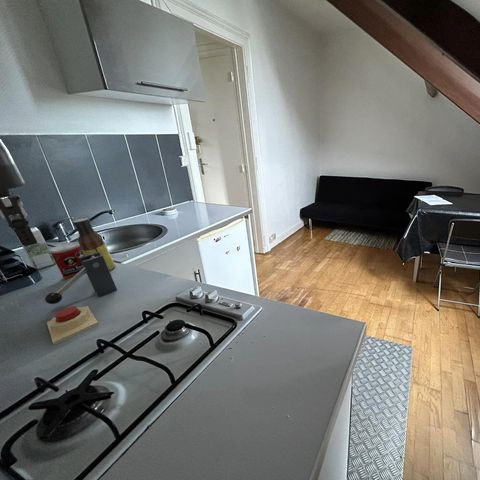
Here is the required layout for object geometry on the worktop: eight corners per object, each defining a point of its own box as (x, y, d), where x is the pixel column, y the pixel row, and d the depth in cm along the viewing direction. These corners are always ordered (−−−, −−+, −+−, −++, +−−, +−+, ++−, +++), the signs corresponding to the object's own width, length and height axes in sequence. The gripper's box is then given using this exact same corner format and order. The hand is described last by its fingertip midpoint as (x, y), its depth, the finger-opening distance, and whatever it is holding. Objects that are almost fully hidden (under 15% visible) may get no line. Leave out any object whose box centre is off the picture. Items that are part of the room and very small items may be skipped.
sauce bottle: (115, 267, 95) (94, 215, 87) (118, 272, 91) (96, 218, 83) (93, 274, 91) (68, 220, 83) (95, 280, 87) (69, 223, 79)
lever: (55, 308, 68) (41, 302, 66) (53, 303, 70) (40, 298, 68) (104, 263, 74) (93, 256, 72) (101, 260, 76) (91, 253, 74)
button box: (50, 329, 65) (43, 316, 63) (90, 312, 70) (84, 299, 69) (57, 349, 58) (48, 335, 56) (101, 329, 63) (94, 316, 62)
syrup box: (53, 260, 104) (35, 226, 98) (56, 264, 100) (39, 229, 95) (33, 266, 99) (13, 231, 94) (36, 270, 96) (16, 234, 91)
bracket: (88, 310, 71) (67, 269, 66) (81, 298, 77) (62, 260, 72) (133, 291, 79) (118, 253, 74) (124, 282, 84) (110, 246, 79)
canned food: (63, 283, 86) (48, 253, 81) (64, 275, 91) (50, 246, 87) (93, 274, 90) (80, 246, 86) (92, 267, 96) (80, 239, 92)
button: (56, 318, 62) (53, 312, 62) (78, 310, 65) (75, 304, 65) (59, 325, 60) (56, 319, 59) (81, 316, 63) (78, 310, 62)
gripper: (-41, 167, 53) (2, 240, 59) (-48, 168, 44) (4, 254, 50) (12, 162, 58) (48, 230, 64) (16, 162, 49) (56, 241, 55)
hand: (28, 240), depth 57 cm, fingers open, 8 cm apart
